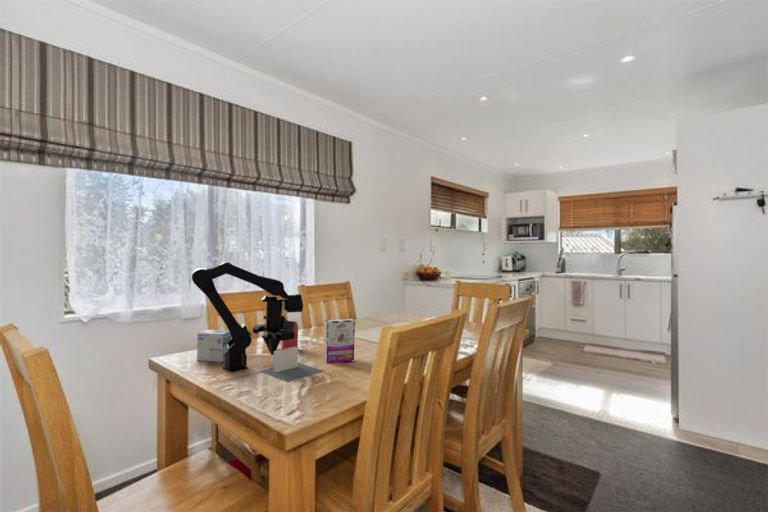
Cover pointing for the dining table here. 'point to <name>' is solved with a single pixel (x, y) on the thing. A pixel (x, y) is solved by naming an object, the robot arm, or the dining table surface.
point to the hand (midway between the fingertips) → (272, 354)
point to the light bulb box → (212, 345)
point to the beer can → (291, 342)
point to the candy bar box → (339, 340)
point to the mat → (293, 372)
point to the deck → (285, 359)
